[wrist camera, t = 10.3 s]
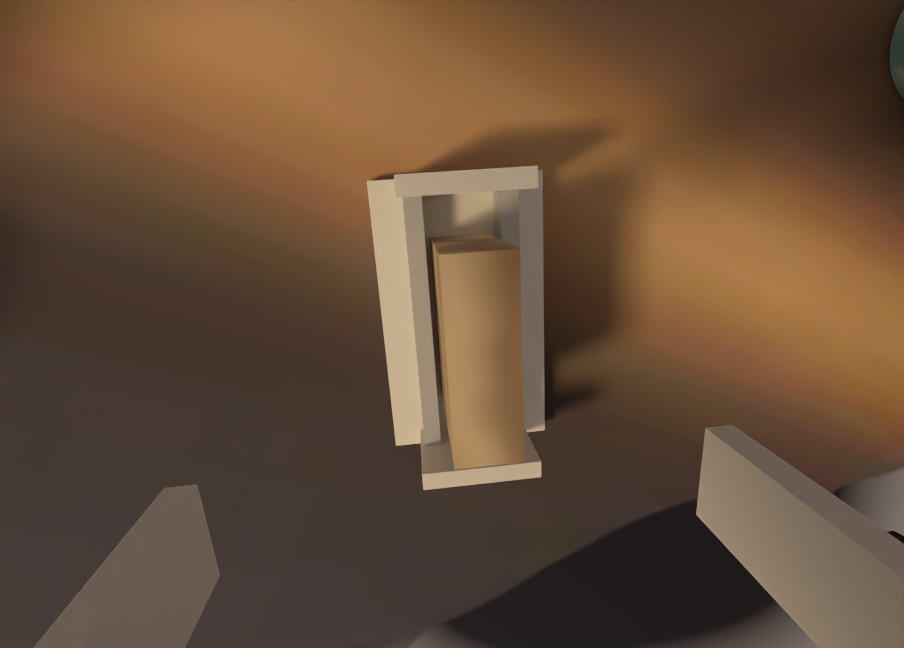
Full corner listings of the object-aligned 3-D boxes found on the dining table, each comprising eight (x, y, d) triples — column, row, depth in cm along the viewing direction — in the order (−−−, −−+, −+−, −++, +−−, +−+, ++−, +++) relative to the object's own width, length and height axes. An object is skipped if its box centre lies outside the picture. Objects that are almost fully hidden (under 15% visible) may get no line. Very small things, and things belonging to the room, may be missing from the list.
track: (396, 438, 37) (393, 493, 30) (368, 181, 31) (356, 176, 24) (540, 423, 38) (570, 473, 31) (537, 170, 32) (573, 163, 25)
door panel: (442, 394, 35) (454, 469, 25) (430, 237, 31) (439, 254, 22) (493, 389, 35) (524, 461, 25) (486, 233, 32) (519, 248, 22)
